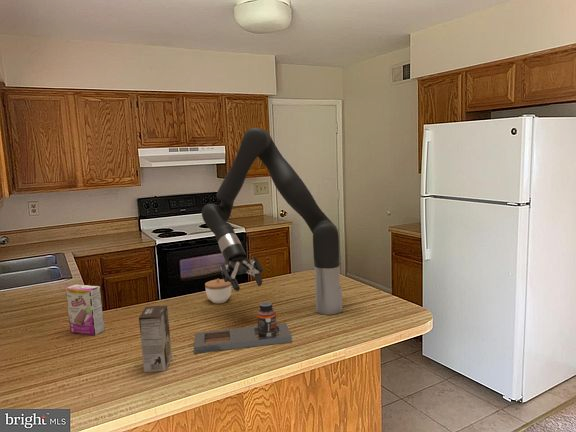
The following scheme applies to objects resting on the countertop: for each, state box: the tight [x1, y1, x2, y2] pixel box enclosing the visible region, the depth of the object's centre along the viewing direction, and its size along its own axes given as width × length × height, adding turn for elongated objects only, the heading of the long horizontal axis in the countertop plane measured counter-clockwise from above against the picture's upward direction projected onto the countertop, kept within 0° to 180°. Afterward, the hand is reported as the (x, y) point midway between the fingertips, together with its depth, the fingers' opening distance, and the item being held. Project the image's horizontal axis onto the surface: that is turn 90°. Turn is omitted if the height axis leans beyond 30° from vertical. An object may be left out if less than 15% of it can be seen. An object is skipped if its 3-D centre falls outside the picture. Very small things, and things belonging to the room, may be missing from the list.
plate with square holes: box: [193, 322, 293, 354], centre depth 140 cm, size 30×11×2 cm, turn 99°
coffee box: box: [138, 304, 173, 373], centre depth 125 cm, size 9×6×16 cm
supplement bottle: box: [256, 301, 277, 338], centre depth 140 cm, size 6×6×11 cm
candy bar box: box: [64, 283, 106, 336], centre depth 152 cm, size 11×5×16 cm, turn 71°
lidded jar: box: [204, 278, 232, 304], centre depth 179 cm, size 11×11×9 cm
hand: (249, 287), depth 147 cm, fingers open, 8 cm apart
